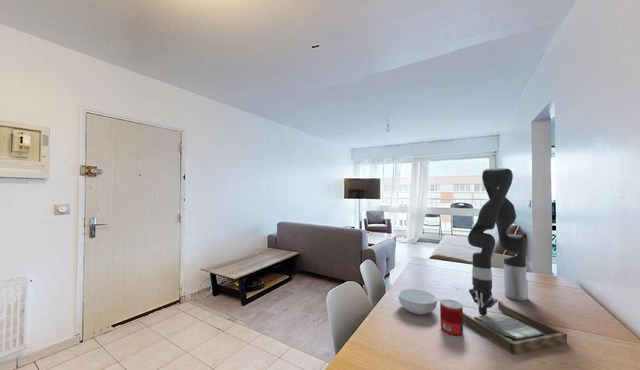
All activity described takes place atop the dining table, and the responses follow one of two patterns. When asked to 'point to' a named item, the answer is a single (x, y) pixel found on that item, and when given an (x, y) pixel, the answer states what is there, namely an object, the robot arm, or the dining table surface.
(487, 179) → the robot arm
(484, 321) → the dish towel
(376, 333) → the dining table surface
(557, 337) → the towel holder
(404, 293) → the cereal bowl
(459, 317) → the canned food
